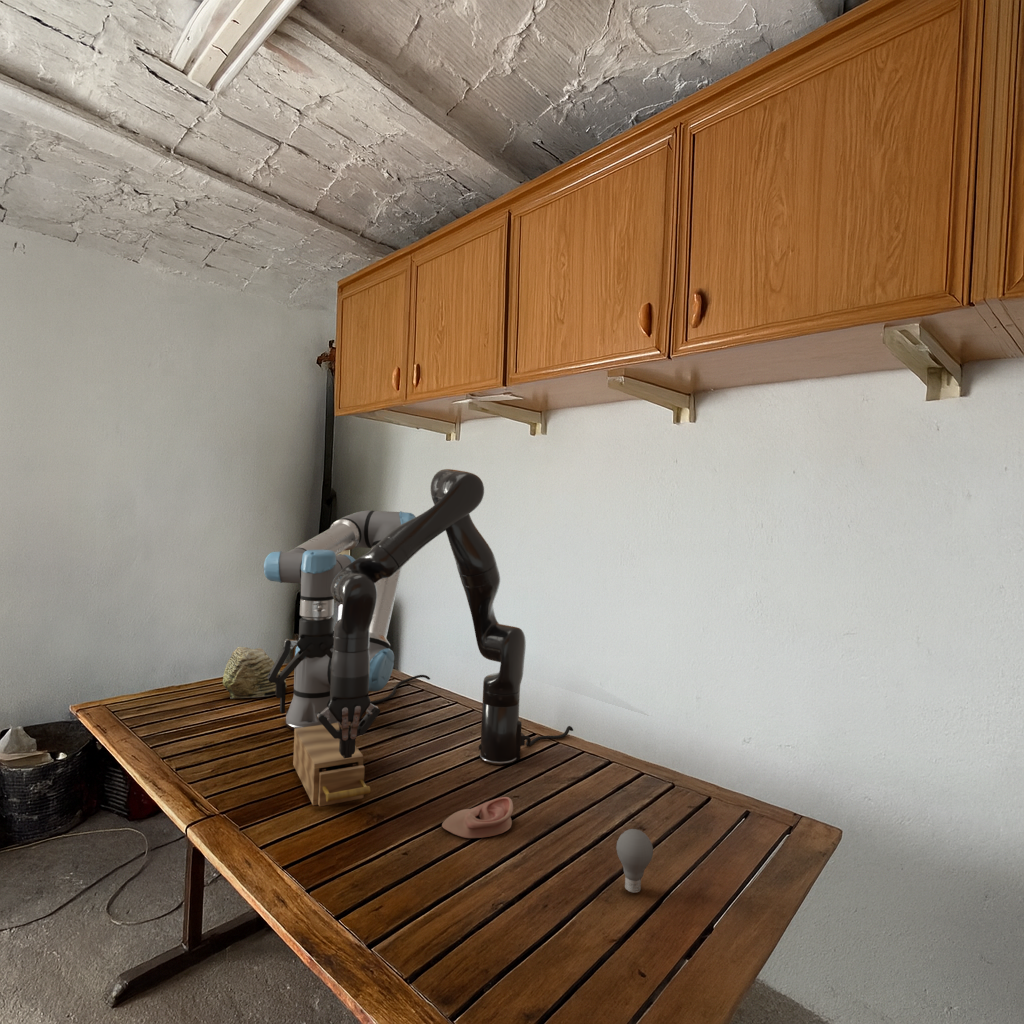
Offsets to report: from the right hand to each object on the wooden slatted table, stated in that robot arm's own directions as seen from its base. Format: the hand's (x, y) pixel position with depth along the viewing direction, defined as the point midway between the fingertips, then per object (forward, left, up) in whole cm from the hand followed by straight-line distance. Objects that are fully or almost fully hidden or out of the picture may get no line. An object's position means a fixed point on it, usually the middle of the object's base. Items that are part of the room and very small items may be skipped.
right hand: (346, 756), depth 127 cm
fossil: (+16, -83, -12) cm, 86 cm away
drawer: (+1, -10, -10) cm, 15 cm away
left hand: (+5, -23, +3) cm, 24 cm away
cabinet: (+2, -16, -12) cm, 20 cm away
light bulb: (-41, +41, -12) cm, 59 cm away
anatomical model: (-24, +13, -12) cm, 29 cm away
